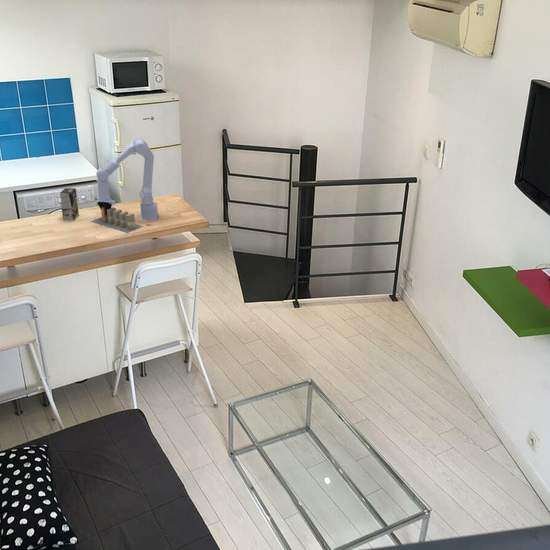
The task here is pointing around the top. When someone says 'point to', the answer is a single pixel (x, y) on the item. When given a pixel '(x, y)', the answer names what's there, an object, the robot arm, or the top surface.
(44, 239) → the top surface
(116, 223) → the grey wooden block
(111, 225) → the slate mat
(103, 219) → the terracotta tile
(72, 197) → the coffee box
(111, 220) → the grey wood block
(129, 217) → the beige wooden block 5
